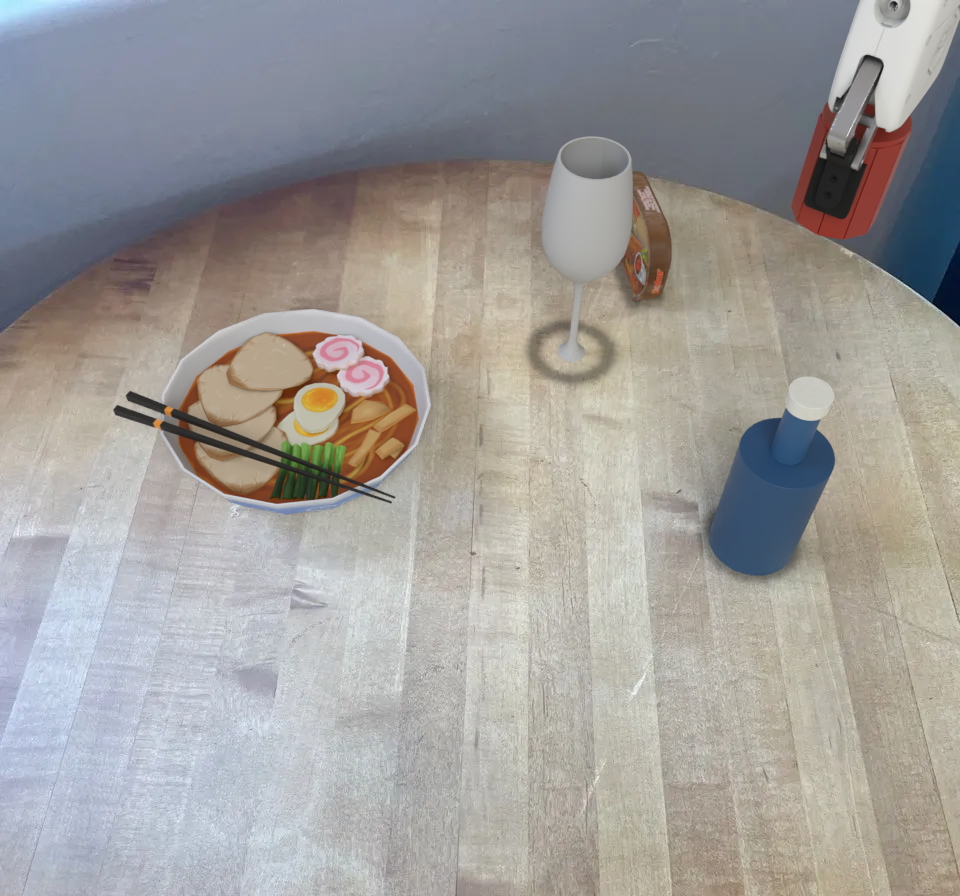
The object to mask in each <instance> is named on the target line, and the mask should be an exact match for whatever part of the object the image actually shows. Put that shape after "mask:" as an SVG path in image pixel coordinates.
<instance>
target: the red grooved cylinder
mask: <svg viewBox="0 0 960 896" xmlns="http://www.w3.org/2000/svg"><path fill="white" fill-rule="evenodd" d="M836 113H837V111H836V112H835V113H832V112H831V110H830V108H829V105H828V101H826V103H825V104H824V106H823V108H822V111H821V112H820V113H819V115H818V118H817V122H816V125H815V127H814V131H813V134H812V137H811V140H810V144H809V147H808V150H807V152H806V153H807V154H806V156H805V160H804V163H803V166H802V169H801V173H800V175H799V179H798V182H797V184H796V187H795V191H794V194H793V197H792V201H791V204H790V207H791V211H792V212H793V216H794V219H795V221H796V222H797V224H799V225H800V226H802V227H803V228H805V229H807V230H808V231H809V232H811V233H812V234H814V235H817V236H819V237H824V238H831V239H837V240H841V241H842V240H848V239H853V238H856V237H857V238H858V237H860V236H864V235H866V234H868V233H869V231H870V230H871V229H872V227H873V225H874V224H875V222H876V221H877V219H878V216H879V213H880V212H881V209H882V206H883V203H884V201H885V199H886V196H887V194H888V191H889V189H890V186H891V184H892V182H893V179H894V177H895V175H896V171H897V170H898V167H899V164H900V161H901V159H902V156H903V154H904V152H905V149H906V146H907V144H908V141H909V139H910V136H911V135H912V133H913V119H912V116H911V115H910V116H909V117H908V118H907V119H906V121H905V122H904V123H903V124H902V126H901V127H899V128H898V129H896V130H894V131H892V132H886V131H885V130H886V129H884V128H881V127H878V130H877V132H876V134H875V137H874V139H873V141H872V143H871V146H870V148H869V150H868V152H867V155H866V157H865V159H864V162H863V163H865V164H867V167H866V170H865V172H864V175H863V178H862V180H861V183H860V186H859V188H858V191H857V194H856V196H855V199H854V202H853V204H852V207H851V210H850V212H849V214H848V215H847V217H846V218H845V219H839V218H836V217H833V216H831V215H828V214H825V213H823V212H820V211H817V210H815V209H812V208H809V207H807V206H806V205H805V203H804V200H805V197H806V193H807V190H808V187H809V184H810V181H811V178H812V175H813V172H814V169H815V166H816V163H817V160H818V157H819V154H820V152H821V150H822V147H823V145H824V142H825V140H826V137H827V135H828V133H829V130H830V128H831V125H832V123H833V120H834V118H835V116H836ZM864 113H866V114H869V115H872V116H875V106H873V105H870V104H867V106H866V108H865V110H864ZM866 129H867V127H865V126H863V125H860V124H857V127H856V129H855V135H854V138H857V139H858V145H860V143H861V140H862V138H863V136H864V133H865V131H866Z"/></svg>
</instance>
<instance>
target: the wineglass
mask: <svg viewBox="0 0 960 896" xmlns="http://www.w3.org/2000/svg"><path fill="white" fill-rule="evenodd" d="M555 158H556V159H555V162H554V165H553V168H552V172H551V175H550V179H549V183H548V188H547V192H546V196H545V201H544V206H543V211H542V218H541V231H540V232H541V233H540V235H541V245H542V249H543V252H544V255H545V257H546V260H547V261H548V262H549V264H550V265H551V266H552V267H553V269H554V270H555V271H556V272H557V273H558V274H559V275H560V276H562V277H563V278H565V279H567V280H568V281H570V282H572V283H573V289H574V290H573V291H574V293H573V303H572V309H571V311H572V312H571V319H570V328H569V336H568V340H567V341H566V342H563V343H561V344H560V345H559V346H558V347H557V350H556V352H557V353H556V354H557V355H558V357H559V358H561V359H562V360H563V361H565V362H569V363H574V362H580V361H581V360H582V359H584V357H585V356H586V349H585V347H584V346H583V344H580V343H578V333H579V323H580V317H581V316H580V315H581V308H582V300H583V292H584V288H585V286H586V285H587V284H590V283H593V282H595V281H597V280H598V281H599V280H600V279H602V278H603V277H605V276H607V275H608V274H609V273H611V272H612V271H613V270H615V269H616V268H617V267H618V266H619V264H620V262H621V259H622V258H623V256H624V255H625V252H626V250H627V247H628V243H629V240H630V235H631V229H632V211H633V174H632V171H633V161H632V156H631V154H630V152H629V150H628V149H627V148H626V147H625V146H624V145H622V144H621V143H620V142H617V141H615V140H613V139H611V138H607V137H603V136H583V137H577V138H574V139H571V140H569V141H568V142H566V143H564V145H562V146H561V147H560V149H559V151H558V153H557V155H556V157H555Z"/></svg>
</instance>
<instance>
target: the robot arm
mask: <svg viewBox="0 0 960 896" xmlns="http://www.w3.org/2000/svg"><path fill="white" fill-rule="evenodd" d="M959 22H960V0H859V2H858V4H857V7H856V10H855V13H854V16H853V19H852V22H851V25H850V27H849V31H848V33H847V36H846V38H845V39H846V40H845V42H844V44H843V45H844V46H843V49H842V52H841V55H840V57H839V61H838V64H837V66H836V70H835V73H834V77H833V80H832V85H831V88H830V91H829V95H828V99H827V102H828V105H829V108H830V110H831V112H832V113H835V112H836V111H837V113H836V116H835V118H834V120H833V123H832V125H831V128H830V130H829V133H828V135H827V137H826V140H825V142H824V145H823V147H822V150H821V152H820V154H819V157H818V160H817V163H816V166H815V169H814V172H813V175H812V178H811V181H810V184H809V187H808V190H807V193H806V197H805V200H804V203H805V205H806V206H807V207H809V208H812V209H815V210H817V211H820V212H823V213H825V214H828V215H831V216H833V217H836V218H839V219H845V218H846V217H847V215H848V214H849V212H850V210H851V207H852V204H853V202H854V199H855V196H856V194H857V191H858V188H859V186H860V183H861V180H862V178H863V175H864V172H865V170H866V167H867V164H865V163H863V162H864V159H865V157H866V155H867V152H868V150H869V148H870V146H871V143H872V141H873V139H874V137H875V134H876V132H877V130H878V127H881V128H884V129H886V130H885V131H886V132H892V131H894V130H896V129H898V128H899V127H901V126H902V124H903V123H904V122H905V121H906V119H907V118H908V117H909V116H911V114H912V113H913V112H914V110H915V109H916V107H917V106H918V105H919V104H920V102H921V101H922V99H924V97H925V95H926V94H927V92H928V91H929V89H930V88H931V87H932V85H933V84H934V82H935V81H936V80H937V78H938V76H939V74H940V72H941V70H942V68H943V66H944V63H945V61H946V58H947V56H948V53H949V50H950V47H951V44H952V42H953V39H954V36H955V33H956V31H957V29H958V25H959ZM867 104H870V105H873V106H875V116H872V115H869V114H866V113H864V110H865V108H866V106H867ZM857 124H860V125H863V126H865V127H867V129H866V131H865V133H864V136H863V138H862V140H861V143H860V145H858V139H857V138H854V135H855V129H856V127H857Z"/></svg>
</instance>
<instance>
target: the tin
mask: <svg viewBox="0 0 960 896" xmlns="http://www.w3.org/2000/svg"><path fill="white" fill-rule="evenodd" d="M632 174H633V211H632V229H631V235H630V240H629V243H628V247H627V250H626V252H625V255H624V256H623V258H622V259H621V261H620V262H621V265H622V268H623V270H624V272H625V274H626V278H627V280H628V282H629V285H630V287H631V291H632V293H633V294H632V297H631V301H632V302H637V301H644V300H646V301H647V300H655V299H658V298H659V297H660V296H662V295H663V293H664V289H665V286H666V283H667V279H668V275H669V271H670V268H671V265H672V264H671V263H672V256H673V255H672V254H673V253H672V252H673V251H672V250H673V248H672V246H673V244H672V236H671V231H670V227H669V223H668V221H667V219H666V216H665V214H664V212H663V210H662V208H661V206H660V205H661V204H660V203H659V201H658V199H657V196H656V194H655V192H654V190H653V188H652V186H651V184H650V181H649V179H648V177H647V176H646V175H645V174H644V173H643V172H641V171H636V170H635V171H634V170H632Z"/></svg>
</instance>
